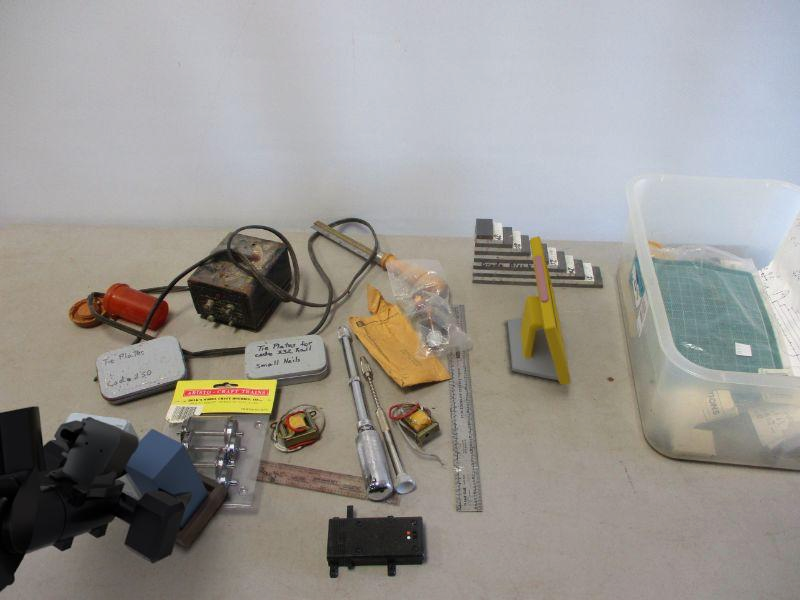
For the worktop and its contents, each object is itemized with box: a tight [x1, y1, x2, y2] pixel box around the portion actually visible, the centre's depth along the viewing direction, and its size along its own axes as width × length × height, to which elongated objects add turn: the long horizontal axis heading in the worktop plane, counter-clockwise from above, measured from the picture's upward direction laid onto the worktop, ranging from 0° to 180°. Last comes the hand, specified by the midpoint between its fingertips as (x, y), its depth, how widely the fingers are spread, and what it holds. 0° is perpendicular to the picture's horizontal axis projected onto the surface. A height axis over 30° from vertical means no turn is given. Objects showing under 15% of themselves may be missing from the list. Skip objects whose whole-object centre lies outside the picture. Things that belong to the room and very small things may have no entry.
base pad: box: [175, 472, 228, 548], centre depth 76 cm, size 8×8×3 cm
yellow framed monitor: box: [507, 236, 572, 386], centre depth 91 cm, size 20×8×16 cm, turn 176°
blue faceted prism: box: [125, 428, 209, 530], centre depth 72 cm, size 5×5×13 cm
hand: (160, 480), depth 71 cm, fingers open, 9 cm apart
